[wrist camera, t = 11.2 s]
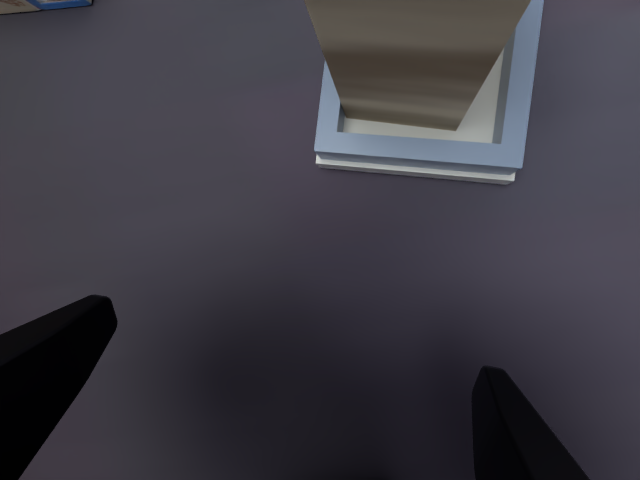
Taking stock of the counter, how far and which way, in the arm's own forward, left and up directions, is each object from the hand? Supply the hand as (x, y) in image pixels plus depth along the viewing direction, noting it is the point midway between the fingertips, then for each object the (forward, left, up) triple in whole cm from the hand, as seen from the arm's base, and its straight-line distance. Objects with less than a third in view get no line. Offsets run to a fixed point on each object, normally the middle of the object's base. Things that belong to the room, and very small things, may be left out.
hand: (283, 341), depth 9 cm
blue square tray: (+7, -7, -8) cm, 13 cm away
